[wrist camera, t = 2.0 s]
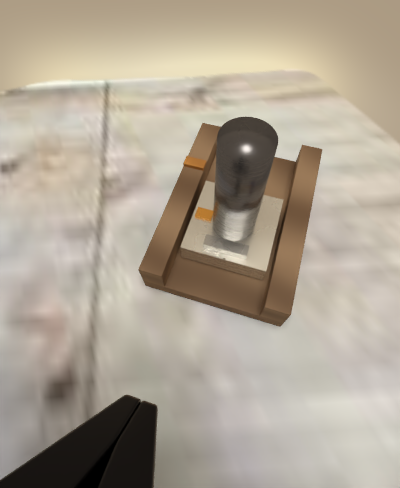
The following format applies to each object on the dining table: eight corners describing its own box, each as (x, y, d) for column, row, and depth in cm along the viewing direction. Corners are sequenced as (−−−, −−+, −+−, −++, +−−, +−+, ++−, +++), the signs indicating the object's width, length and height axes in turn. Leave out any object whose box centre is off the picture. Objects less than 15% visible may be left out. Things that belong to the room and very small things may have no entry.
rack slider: (262, 280, 23) (297, 201, 14) (181, 257, 24) (169, 169, 15) (278, 211, 25) (317, 110, 17) (205, 193, 26) (207, 87, 18)
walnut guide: (280, 326, 22) (291, 313, 19) (145, 285, 24) (137, 267, 21) (311, 173, 28) (323, 146, 25) (202, 148, 30) (202, 119, 27)
